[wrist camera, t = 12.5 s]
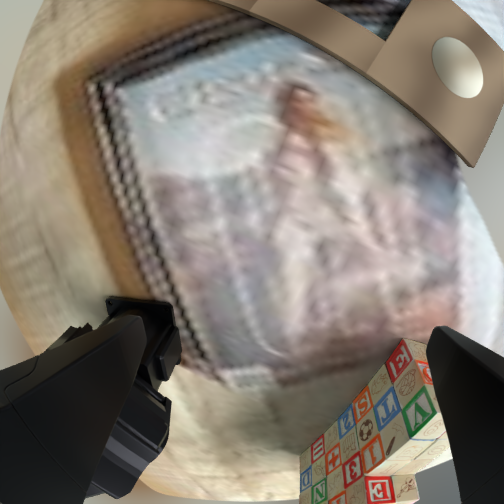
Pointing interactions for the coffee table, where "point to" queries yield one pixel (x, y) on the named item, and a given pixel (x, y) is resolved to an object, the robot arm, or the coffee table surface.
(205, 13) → the coffee table surface
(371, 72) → the socket board
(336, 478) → the stack of blocks
